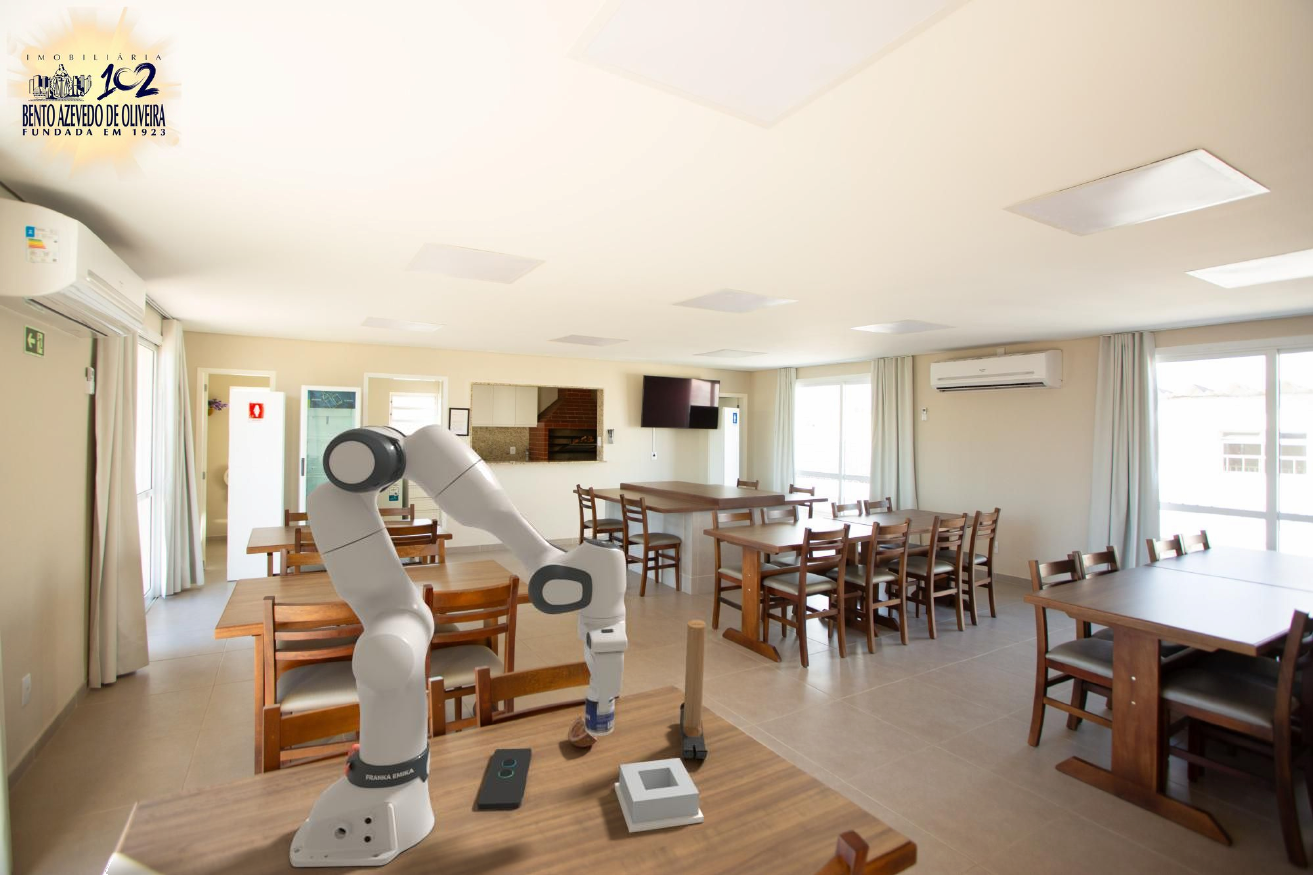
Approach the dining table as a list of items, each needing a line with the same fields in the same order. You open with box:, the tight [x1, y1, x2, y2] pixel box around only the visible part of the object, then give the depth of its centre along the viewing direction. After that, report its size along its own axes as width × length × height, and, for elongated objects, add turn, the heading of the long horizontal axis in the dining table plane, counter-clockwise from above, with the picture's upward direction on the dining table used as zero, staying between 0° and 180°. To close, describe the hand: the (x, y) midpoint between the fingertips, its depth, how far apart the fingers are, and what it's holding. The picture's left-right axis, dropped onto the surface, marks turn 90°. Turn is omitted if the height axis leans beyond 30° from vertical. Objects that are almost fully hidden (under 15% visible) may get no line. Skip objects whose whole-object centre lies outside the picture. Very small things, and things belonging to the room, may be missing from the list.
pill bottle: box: [584, 675, 616, 737], centre depth 112 cm, size 5×5×10 cm
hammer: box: [679, 619, 708, 760], centre depth 137 cm, size 20×5×30 cm, turn 1°
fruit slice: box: [567, 716, 598, 748], centre depth 137 cm, size 8×7×5 cm
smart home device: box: [477, 747, 533, 811], centre depth 123 cm, size 8×2×20 cm
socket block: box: [614, 757, 705, 834], centre depth 116 cm, size 14×14×5 cm
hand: (599, 701), depth 112 cm, fingers closed on pill bottle, 5 cm apart
